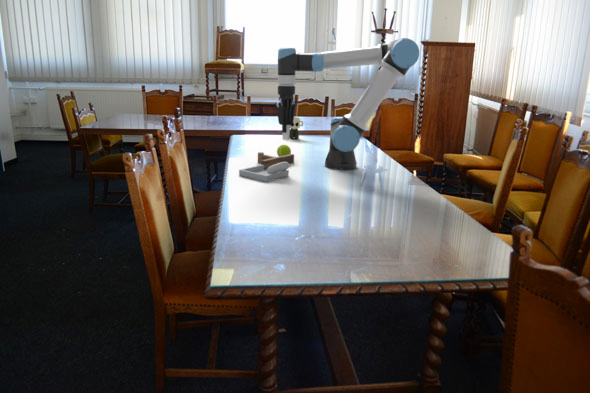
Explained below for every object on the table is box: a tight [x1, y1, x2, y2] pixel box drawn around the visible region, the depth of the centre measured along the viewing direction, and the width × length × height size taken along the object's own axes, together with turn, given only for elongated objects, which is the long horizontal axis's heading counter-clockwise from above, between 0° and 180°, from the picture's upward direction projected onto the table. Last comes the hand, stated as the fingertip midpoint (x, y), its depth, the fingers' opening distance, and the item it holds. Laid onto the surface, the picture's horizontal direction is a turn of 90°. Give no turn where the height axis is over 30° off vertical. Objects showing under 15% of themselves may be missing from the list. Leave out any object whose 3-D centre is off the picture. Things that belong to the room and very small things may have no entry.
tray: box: [238, 164, 289, 183], centre depth 205 cm, size 15×15×2 cm
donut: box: [266, 162, 290, 174], centre depth 204 cm, size 10×4×10 cm
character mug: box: [289, 116, 304, 140], centre depth 299 cm, size 11×7×13 cm, turn 94°
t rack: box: [257, 151, 295, 170], centre depth 228 cm, size 12×22×5 cm, turn 143°
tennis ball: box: [276, 144, 292, 157], centre depth 241 cm, size 7×7×7 cm
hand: (285, 139), depth 213 cm, fingers closed
